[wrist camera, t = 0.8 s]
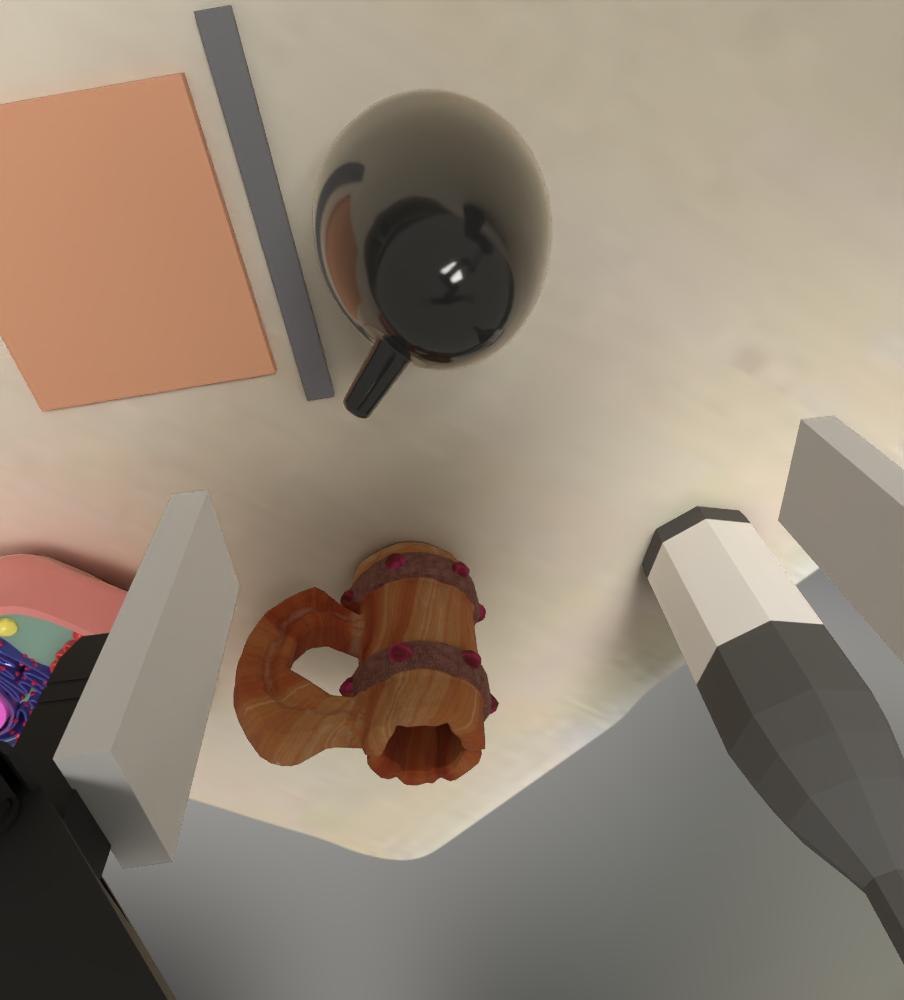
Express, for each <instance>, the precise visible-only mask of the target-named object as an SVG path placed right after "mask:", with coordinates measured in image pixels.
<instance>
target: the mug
mask: <svg viewBox="0 0 904 1000" xmlns="http://www.w3.org/2000/svg"><path fill="white" fill-rule="evenodd" d="M468 574H469V569H468V567H467V566H466V565H465V564H464V563H462V562H458V561H457V560H456V559H455V558H454V557H453V556H452V554H450V553H448V552H445V551H443V550H441V549H439V548H436V547H434V546H431V545H429V544H426V543H415V542H405V543H397V544H394V545H391V546H388V547H386V548H384V549H382V550H380V551H379V552H377V553H375V554H373V555H371V556H369V557H368V558H366V559H365V560H364V561H362V562H361V563H360V564H359V566H358V567H357V569H356V571H355V573H354V578H353V583H352V585H353V586H352V587H351V589H350V590H348V591H345V592H344V594H343V596H342V597H341V604H342V605H341V604H339V603H338V602H336V601H335V600H334V599H332V598H331V597H330V596H328V595H327V594H326V593H325V592H324V591H322V590H320V589H318V588H316V587H313V588H311V589H308V590H305V591H302V592H300V593H298V594H296V595H294V596H292V597H290V598H288V599H286V600H284V601H282V602H281V603H280V604H278V605H277V606H276V607H274V608H272V609H271V610H269V611H268V612H267V613H266V614H265V615H264V616H263V617H262V618H261V620H260V621H259V622H258V624H257V625H256V627H255V628H254V629H253V631H252V632H251V634H250V635H249V637H248V639H247V641H246V644H245V646H244V649H243V653H242V655H241V657H240V659H239V662H238V666H237V670H236V678H235V687H234V708H235V711H236V714H237V718H238V720H239V723H240V725H241V727H242V729H243V731H244V733H245V735H246V737H247V739H248V740H249V742H250V743H251V744H252V746H253V747H254V749H255V750H256V752H257V753H258V754H259V756H260V757H262V758H264V759H265V760H267V761H268V762H270V763H273V764H277V765H281V766H293V765H297V764H300V763H302V762H303V761H305V760H307V759H309V758H311V757H312V756H314V755H316V754H318V753H319V752H321V751H323V750H325V749H328V748H335V747H340V748H362V749H363V751H364V753H365V755H367V762H368V765H369V766H370V768H371V769H372V770H373V771H374V772H375V773H376V774H377V775H379V776H380V777H381V778H386V779H391V778H394V777H398V778H399V779H400V780H401V781H402V782H403V783H404V784H406V785H420V784H424V783H434V782H435V781H436V780H437V779H438V778H444V779H446V780H449V781H452V780H456V779H458V778H459V777H461V776H462V775H464V774H465V773H466V772H468V771H469V770H471V769H472V768H473V767H474V766H475V765H477V764H478V763H479V761H480V758H481V754H482V752H481V749H485V733H484V721H485V720H486V718H487V717H488V716H489V714H492V713H493V712H495V711H496V709H497V707H498V704H499V703H498V701H497V700H496V699H495V698H494V696H493V695H492V694H491V693H490V689H489V684H488V678H487V674H486V672H485V670H484V668H483V666H482V665H481V657H480V656H479V654H478V651H477V644H476V637H475V629H474V626H475V624H476V623H477V622H479V621H482V620H483V619H484V618H485V614H486V610H485V608H484V607H483V605H481V604H479V602H478V598H477V594H476V590H475V587H474V583H473V581H472V579H471V577H470V576H469V575H468ZM348 609H349V610H348ZM325 646H328V647H331V648H333V649H335V650H338V651H341V652H344V653H346V654H349V655H351V656H354V657H356V658H358V659H359V667H358V668H357V670H356V671H355V673H354V674H353V675H352V677H350V678H348V679H346V680H345V682H344V683H343V684H342V685H341V686H340V689H339V691H340V693H341V695H342V696H333V695H330V694H328V693H327V692H325V691H324V690H322V689H321V688H319V687H318V686H316V685H315V684H313V683H312V682H310V681H309V680H307V679H305V678H304V677H302V676H300V675H298V674H297V673H295V672H293V671H292V670H290V669H291V667H292V665H293V662H294V661H295V660H296V659H298V658H299V657H300V656H301V655H302V654H303V653H304V652H305V651H307V650H309V649H311V648H317V647H325Z"/></svg>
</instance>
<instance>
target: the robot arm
mask: <svg viewBox="0 0 904 1000" xmlns="http://www.w3.org/2000/svg"><path fill="white" fill-rule="evenodd" d="M778 521H779V522H780V523H781V524H782V525H783V526H784V528H785V529H786V530H787V531H788V532H789V533H790V534H791V536H792V537H793V538H794V539H795V540H796V541H797V542H798V544H799V545H800V546H801V547H802V548H803V549H804V550H805V552H806V553H807V554H808V555H809V556H810V557H811V558H812V560H813V561H814V562H815V563H816V564H817V565H818V566H819V568H820V569H821V570H822V571H823V572H824V573H825V574H826V576H827V577H828V578H829V579H830V580H831V581H832V582H833V583H834V585H835V586H836V587H837V588H838V589H839V590H840V591H841V593H842V594H843V595H844V596H845V597H846V598H847V600H848V601H849V602H850V603H851V604H852V605H853V606H854V608H855V609H856V610H857V611H858V612H859V613H860V614H861V616H862V617H863V618H864V619H865V620H866V621H867V622H868V623H869V624H870V626H871V627H872V628H873V629H874V630H875V631H876V633H878V635H879V636H880V637H881V638H882V640H883V641H884V642H885V643H886V644H887V645H888V646H889V648H890V649H891V650H892V651H893V652H894V653H895V654H896V655H897V657H898V658H899V659H900V660H901V661H902V662H903V664H904V469H902V468H901V467H900V466H898V465H897V464H896V463H895V462H893V461H892V460H891V459H889V458H888V457H887V456H886V455H884V454H883V453H882V452H880V451H879V450H878V449H877V448H875V447H874V446H873V445H871V444H870V443H869V442H868V441H866V440H865V439H864V438H862V437H861V436H860V435H859V434H857V433H856V432H855V431H853V430H852V429H851V428H850V427H848V426H847V425H846V424H844V423H843V422H842V421H841V420H839V419H838V418H837V417H835V416H825V417H817V418H809V419H801V421H800V425H799V430H798V434H797V439H796V443H795V448H794V452H793V457H792V461H791V465H790V470H789V474H788V479H787V483H786V488H785V492H784V497H783V501H782V505H781V510H780V514H779V519H778ZM239 589H240V586H239V583H238V580H237V576H236V573H235V570H234V567H233V564H232V561H231V558H230V555H229V552H228V549H227V546H226V543H225V540H224V537H223V534H222V530H221V527H220V524H219V521H218V518H217V515H216V512H215V509H214V506H213V503H212V500H211V497H210V494H209V491H208V490H200V491H192V492H183V493H175V494H172V496H171V498H170V500H169V502H168V504H167V507H166V509H165V511H164V513H163V516H162V518H161V520H160V522H159V524H158V527H157V529H156V531H155V533H154V535H153V538H152V540H151V542H150V544H149V547H148V549H147V551H146V553H145V555H144V558H143V560H142V562H141V564H140V566H139V569H138V571H137V573H136V575H135V578H134V580H133V582H132V584H131V586H130V589H129V591H128V593H127V595H126V597H125V600H124V602H123V604H122V606H121V609H120V611H119V613H118V615H117V617H116V620H115V622H114V624H113V626H112V628H111V631H110V633H103V634H95V635H87V636H81V637H80V638H79V639H78V640H77V641H76V642H75V643H74V644H73V645H72V646H71V647H70V648H69V649H68V650H67V651H66V652H65V653H64V654H63V655H62V656H61V657H60V659H59V660H58V662H57V664H56V666H55V668H54V670H53V672H52V674H51V676H50V678H49V680H48V681H47V688H44V689H43V691H42V693H41V695H40V697H39V699H38V701H37V707H36V708H34V709H33V711H32V713H31V714H30V716H29V718H28V720H27V722H26V724H25V726H24V728H23V730H22V732H21V734H20V736H19V738H18V740H17V742H16V744H15V746H14V747H12V746H11V745H10V744H9V743H7V742H6V741H0V1000H177V999H176V997H175V995H174V994H173V992H172V991H171V989H170V987H169V986H168V984H167V982H166V981H165V979H164V977H163V976H162V974H161V972H160V971H159V969H158V967H157V966H156V964H155V962H154V961H153V959H152V957H151V956H150V954H149V952H148V951H147V949H146V947H145V946H144V944H143V942H142V941H141V939H140V937H139V936H138V934H137V932H136V931H135V929H134V927H133V926H132V924H131V923H130V921H129V919H128V918H127V916H126V914H125V913H124V911H123V909H122V908H121V906H120V904H119V903H118V901H117V899H116V898H115V896H114V894H113V893H112V891H111V889H110V888H109V886H108V884H107V883H106V881H105V880H104V878H103V877H102V873H103V870H104V867H105V864H106V861H107V858H108V855H109V852H110V849H111V851H112V852H113V854H114V855H115V857H116V858H117V860H118V862H119V863H120V865H121V866H122V868H123V869H126V868H133V867H139V866H147V865H155V864H162V863H169V862H173V858H174V854H175V850H176V846H177V842H178V838H179V834H180V829H181V825H182V821H183V817H184V813H185V809H186V805H187V801H188V797H189V793H190V789H191V785H192V781H193V777H194V773H195V768H196V764H197V760H198V756H199V752H200V748H201V744H202V740H203V736H204V732H205V728H206V724H207V720H208V715H209V711H210V707H211V703H212V699H213V695H214V691H215V687H216V683H217V679H218V675H219V671H220V667H221V663H222V658H223V654H224V650H225V646H226V642H227V638H228V634H229V630H230V626H231V622H232V618H233V614H234V610H235V605H236V601H237V597H238V593H239Z"/></svg>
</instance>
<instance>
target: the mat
mask: <svg viewBox="0 0 904 1000" xmlns="http://www.w3.org/2000/svg"><path fill="white" fill-rule="evenodd" d="M0 335H1V337H2V339H3V341H4V342H5V344H6V346H7V348H8V350H9V352H10V353H11V355H12V357H13V359H14V361H15V363H16V364H17V366H18V368H19V370H20V372H21V374H22V375H23V377H24V379H25V381H26V383H27V385H28V386H29V388H30V390H31V392H32V394H33V396H34V397H35V399H36V401H37V403H38V405H39V407H40V408H41V410H42V411H47V410H53V409H59V408H65V407H71V406H78V405H84V404H90V403H96V402H102V401H108V400H114V399H121V398H127V397H133V396H139V395H145V394H151V393H157V392H164V391H170V390H176V389H182V388H188V387H194V386H200V385H207V384H213V383H219V382H225V381H231V380H237V379H243V378H250V377H256V376H262V375H268V374H274V373H275V372H276V365H275V362H274V359H273V356H272V353H271V349H270V346H269V343H268V340H267V337H266V333H265V330H264V327H263V324H262V321H261V317H260V314H259V311H258V308H257V304H256V301H255V298H254V295H253V292H252V288H251V285H250V282H249V279H248V276H247V272H246V269H245V266H244V263H243V260H242V256H241V253H240V250H239V247H238V244H237V240H236V237H235V234H234V231H233V228H232V224H231V221H230V218H229V215H228V212H227V208H226V205H225V202H224V199H223V196H222V192H221V189H220V186H219V183H218V180H217V176H216V173H215V170H214V167H213V163H212V160H211V157H210V154H209V151H208V147H207V144H206V141H205V138H204V135H203V131H202V128H201V125H200V122H199V119H198V115H197V112H196V109H195V106H194V103H193V99H192V96H191V93H190V90H189V87H188V83H187V80H186V77H185V74H184V73H179V74H174V75H168V76H162V77H156V78H151V79H145V80H139V81H133V82H128V83H122V84H116V85H110V86H104V87H99V88H93V89H87V90H81V91H76V92H70V93H64V94H58V95H53V96H47V97H41V98H35V99H30V100H24V101H18V102H12V103H7V104H1V105H0Z"/></svg>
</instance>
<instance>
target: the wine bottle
mask: <svg viewBox="0 0 904 1000" xmlns="http://www.w3.org/2000/svg"><path fill="white" fill-rule="evenodd" d="M643 567H644V571H645V574H646V576H647V578H648V580H649V583H650V585H651V587H652V589H653V591H654V593H655V596H656V598H657V600H658V602H659V604H660V607H661V609H662V611H663V613H664V615H665V617H666V620H667V622H668V624H669V626H670V628H671V630H672V633H673V635H674V637H675V639H676V641H677V643H678V646H679V648H680V650H681V652H682V654H683V656H684V659H685V661H686V663H687V665H688V667H689V669H690V672H691V674H692V676H693V678H694V680H695V682H696V685H697V687H698V689H699V691H700V693H701V695H702V698H703V700H704V702H705V704H706V706H707V708H708V711H709V713H710V715H711V717H712V719H713V722H714V724H715V726H716V728H717V730H718V732H719V735H720V737H721V739H722V741H723V743H724V745H725V748H726V750H727V752H728V754H729V756H730V757H731V758H732V759H733V761H734V762H735V763H736V765H737V766H738V767H739V769H740V770H741V771H742V773H743V774H744V775H745V777H746V778H747V779H748V781H749V782H750V783H751V785H752V786H753V787H754V789H755V790H756V791H757V792H758V794H760V796H761V797H762V798H763V800H764V801H765V802H766V803H767V804H768V806H769V807H770V808H771V809H772V810H773V812H774V813H775V814H776V815H777V816H778V817H779V818H780V819H781V820H782V821H783V822H784V823H785V824H786V825H787V827H788V828H789V829H790V830H791V831H792V832H793V833H794V834H795V835H796V836H797V837H798V838H799V839H800V840H801V841H802V842H803V843H804V844H805V845H806V846H808V847H809V848H810V849H811V850H813V851H814V852H815V853H816V854H818V855H819V856H820V857H821V858H823V859H824V860H825V861H827V862H828V863H829V864H830V865H831V866H833V867H834V868H835V869H837V870H838V871H839V872H840V873H842V874H843V875H844V876H845V877H847V878H848V879H849V880H850V881H851V882H852V883H854V884H855V885H856V886H857V887H858V888H860V889H861V890H862V891H863V892H864V893H865V894H866V895H867V897H868V899H869V901H870V903H871V904H872V906H873V908H874V910H875V912H876V914H877V916H878V917H879V919H880V921H881V923H882V925H883V927H884V928H885V930H886V932H887V934H888V936H889V938H890V939H891V941H892V943H893V945H894V947H895V948H896V950H897V952H898V954H899V956H900V958H901V960H902V961H903V963H904V759H903V756H902V754H901V751H900V749H899V747H898V744H897V742H896V739H895V737H894V734H893V732H892V730H891V727H890V725H889V723H888V721H887V719H886V717H885V715H884V713H883V712H882V710H881V708H880V706H879V704H878V702H877V701H876V699H875V697H874V695H873V693H872V691H871V690H870V689H869V687H868V686H867V685H866V683H865V682H864V680H863V679H862V678H861V676H860V675H859V673H858V672H857V671H856V669H855V668H854V666H853V665H852V664H851V662H850V661H849V660H848V658H847V657H846V655H845V654H844V653H843V651H842V650H841V648H840V647H839V646H838V644H837V643H836V641H835V640H834V639H833V637H832V636H831V635H830V634H829V632H828V630H827V629H826V628H825V626H824V625H823V623H822V622H821V621H820V619H819V618H818V617H817V615H816V614H815V612H814V611H813V609H812V608H811V607H810V605H809V604H808V603H807V601H806V600H805V598H804V597H803V596H802V594H801V593H800V591H799V590H798V589H797V587H796V586H795V584H794V583H793V582H792V580H791V579H790V577H789V576H788V575H787V573H786V572H785V571H784V569H783V568H782V566H781V565H780V564H779V562H778V561H777V559H776V558H775V557H774V555H773V554H772V552H771V551H770V550H769V548H768V547H767V546H766V544H765V543H764V541H763V540H762V539H761V537H760V536H759V534H758V533H757V532H756V530H755V529H754V527H753V526H752V525H751V523H750V522H749V521H748V519H747V518H746V517H745V516H744V515H743V514H742V513H741V512H740V511H738V510H728V509H718V508H708V507H698V506H697V507H695V508H694V509H692V510H690V511H688V512H686V513H685V514H683V515H681V516H679V517H677V518H676V519H674V520H672V521H670V522H668V523H667V524H665V525H663V526H661V527H659V528H658V529H656V532H655V534H654V537H653V539H652V541H651V544H650V546H649V549H648V551H647V554H646V556H645V558H644V561H643Z"/></svg>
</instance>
